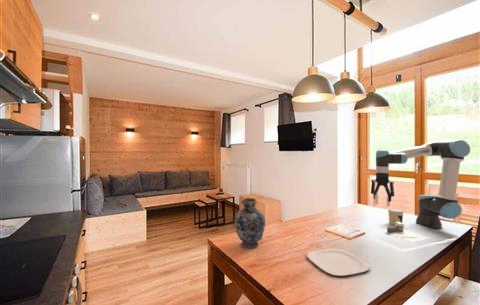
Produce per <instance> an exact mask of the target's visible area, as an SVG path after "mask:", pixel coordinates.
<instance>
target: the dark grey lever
mask: <svg viewBox="0 0 480 305" xmlns="http://www.w3.org/2000/svg"><path fill="white" fill-rule="evenodd" d="M404 226H405V224H404V223H403V222H402V223H400V222H395V225H393V226H390V227H387V228H386V229H387V232H388V233H387V234H389V233H391V232H397V231H399V232H403V229H404Z"/></svg>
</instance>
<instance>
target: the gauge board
mask: <svg viewBox="0 0 480 305" xmlns="http://www.w3.org/2000/svg"><path fill="white" fill-rule="evenodd" d="M379 231H380V232H384V233H385V234H389V235H391V236H395V237H397V238H401V239H403V240H405V241H407V242H411V243H417V242H421V241H425V240H430V239H431V237H429V236H425V235H422V234H419V233H416V232H412V231H409V230H406V229H404V228H403V232H399V231H397V232H391V233H388V232H387V228H383V229H379Z"/></svg>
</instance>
